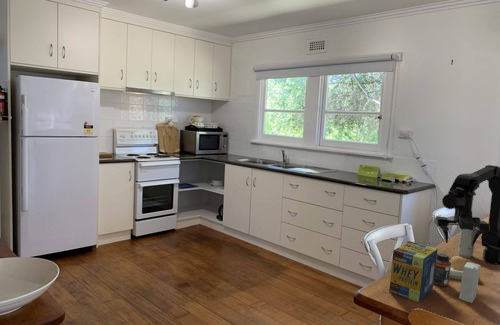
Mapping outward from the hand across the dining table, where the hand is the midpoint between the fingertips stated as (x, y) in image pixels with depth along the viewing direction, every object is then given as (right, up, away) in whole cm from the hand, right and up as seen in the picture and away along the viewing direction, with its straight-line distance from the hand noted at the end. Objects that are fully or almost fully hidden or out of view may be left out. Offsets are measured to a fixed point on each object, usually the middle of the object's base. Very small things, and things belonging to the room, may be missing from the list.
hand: (459, 244), depth 153 cm
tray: (-1, -12, 0) cm, 12 cm away
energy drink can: (+15, -10, +22) cm, 28 cm away
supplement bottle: (-13, -13, -10) cm, 20 cm away
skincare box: (-9, -15, -21) cm, 27 cm away
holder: (+7, -11, +11) cm, 17 cm away
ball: (0, -8, 0) cm, 8 cm away
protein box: (-26, -13, -17) cm, 34 cm away
